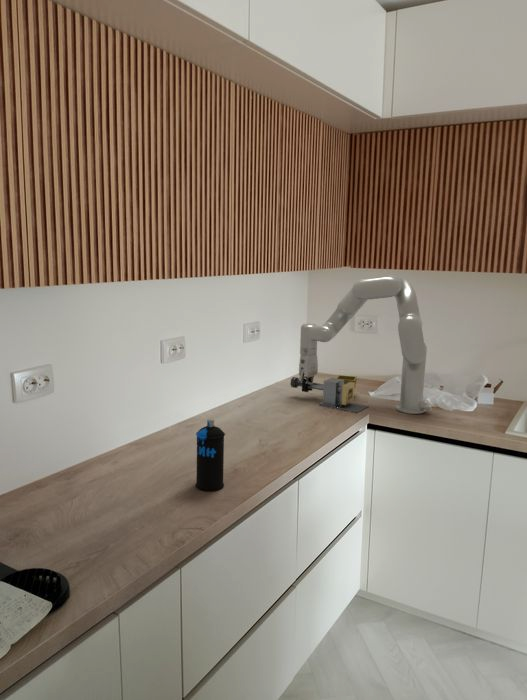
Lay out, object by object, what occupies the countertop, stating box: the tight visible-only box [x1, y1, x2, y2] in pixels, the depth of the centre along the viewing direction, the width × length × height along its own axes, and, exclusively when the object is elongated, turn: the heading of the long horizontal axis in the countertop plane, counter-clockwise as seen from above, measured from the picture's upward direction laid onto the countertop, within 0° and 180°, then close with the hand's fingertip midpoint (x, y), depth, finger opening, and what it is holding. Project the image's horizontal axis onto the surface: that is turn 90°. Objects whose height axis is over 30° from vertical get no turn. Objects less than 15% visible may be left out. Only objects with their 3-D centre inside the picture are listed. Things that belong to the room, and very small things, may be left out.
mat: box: [335, 402, 370, 414], centre depth 257 cm, size 10×12×1 cm
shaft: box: [290, 376, 350, 395], centre depth 265 cm, size 28×5×5 cm, turn 57°
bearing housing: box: [318, 377, 344, 409], centre depth 261 cm, size 8×11×11 cm
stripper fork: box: [340, 382, 350, 408], centre depth 258 cm, size 1×9×10 cm, turn 147°
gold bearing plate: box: [342, 382, 356, 405], centre depth 257 cm, size 2×8×8 cm, turn 147°
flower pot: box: [336, 374, 358, 387], centre depth 277 cm, size 9×9×9 cm
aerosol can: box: [195, 418, 226, 492], centre depth 169 cm, size 8×8×20 cm
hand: (307, 390), depth 269 cm, fingers closed on shaft, 2 cm apart
